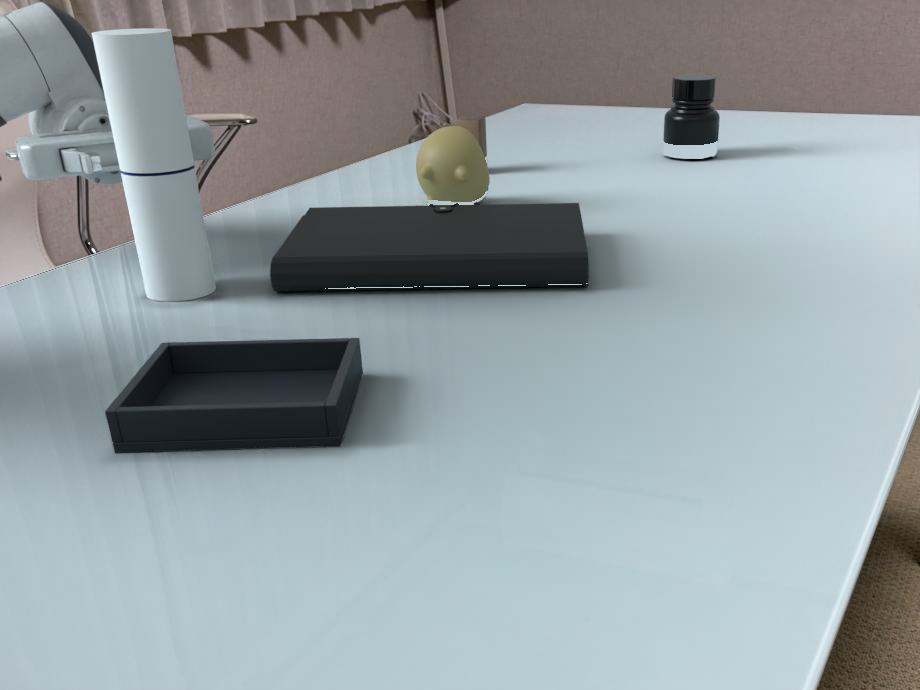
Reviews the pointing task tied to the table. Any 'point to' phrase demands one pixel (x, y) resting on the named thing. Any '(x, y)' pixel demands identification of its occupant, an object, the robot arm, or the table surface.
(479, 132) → the wooden block
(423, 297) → the table surface
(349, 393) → the tray
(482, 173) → the tan rounded lump
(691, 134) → the ink bottle
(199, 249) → the cylindrical container
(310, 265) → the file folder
